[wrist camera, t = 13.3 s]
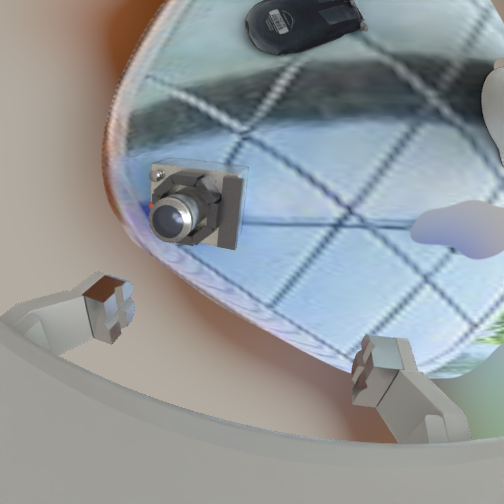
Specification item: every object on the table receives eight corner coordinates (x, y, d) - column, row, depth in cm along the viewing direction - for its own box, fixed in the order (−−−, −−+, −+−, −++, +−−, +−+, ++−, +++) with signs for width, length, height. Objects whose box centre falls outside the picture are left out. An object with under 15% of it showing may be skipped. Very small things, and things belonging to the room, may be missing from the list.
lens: (211, 190, 38) (190, 204, 31) (207, 227, 40) (186, 248, 33) (175, 183, 38) (148, 195, 32) (172, 219, 40) (146, 238, 34)
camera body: (254, 168, 42) (239, 179, 34) (246, 233, 46) (230, 258, 38) (171, 157, 43) (141, 167, 35) (168, 219, 48) (141, 239, 40)
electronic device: (332, -15, 29) (235, 13, 32) (342, -28, 24) (232, 1, 27) (359, 37, 33) (262, 66, 36) (372, 30, 28) (263, 61, 31)
